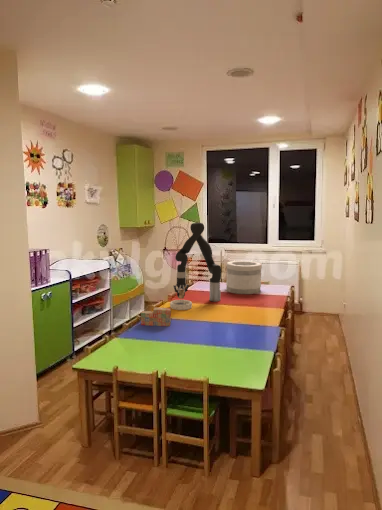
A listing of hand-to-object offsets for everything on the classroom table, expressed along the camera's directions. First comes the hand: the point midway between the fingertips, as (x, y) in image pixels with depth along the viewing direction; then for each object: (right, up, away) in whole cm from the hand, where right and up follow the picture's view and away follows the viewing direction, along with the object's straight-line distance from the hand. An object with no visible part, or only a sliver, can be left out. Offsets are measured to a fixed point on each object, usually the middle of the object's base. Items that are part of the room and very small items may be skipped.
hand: (180, 296), depth 357 cm
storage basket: (+61, 0, +69) cm, 92 cm away
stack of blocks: (-17, -16, -47) cm, 53 cm away
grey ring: (0, -9, +1) cm, 9 cm away
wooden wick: (0, -1, 0) cm, 1 cm away
